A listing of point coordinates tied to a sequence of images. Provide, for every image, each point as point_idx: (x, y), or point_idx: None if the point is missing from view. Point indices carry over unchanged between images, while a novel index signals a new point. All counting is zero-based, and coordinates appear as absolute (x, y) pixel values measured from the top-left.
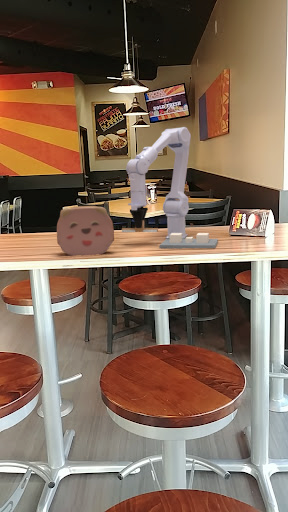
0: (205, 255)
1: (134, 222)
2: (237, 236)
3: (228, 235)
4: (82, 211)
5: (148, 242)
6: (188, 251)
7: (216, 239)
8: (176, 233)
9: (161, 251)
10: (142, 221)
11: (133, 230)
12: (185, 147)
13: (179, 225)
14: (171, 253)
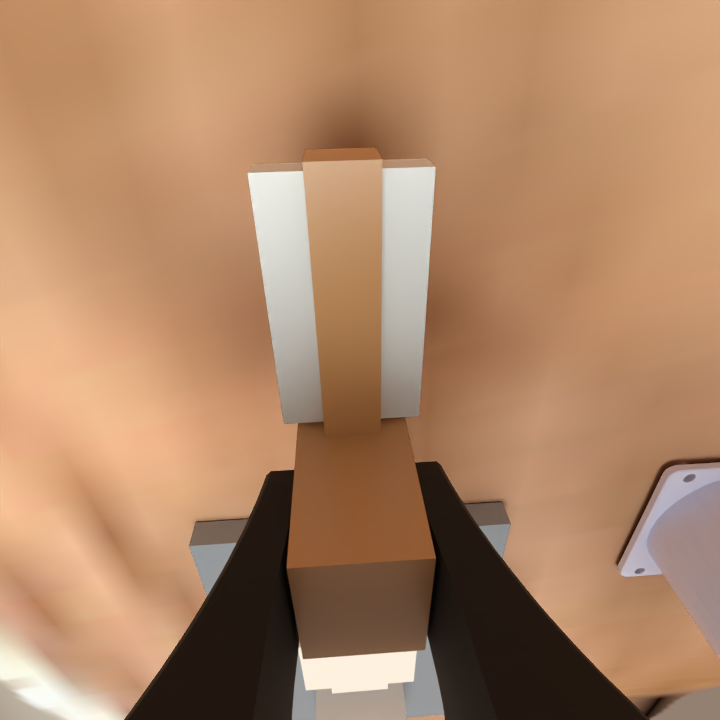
0: (72, 711)
1: (234, 551)
2: None
3: (666, 691)
4: None
5: (490, 378)
6: (146, 654)
7: (443, 712)
8: (386, 663)
9: (81, 556)
10: (302, 648)
11: (282, 399)
12: None
13: (716, 654)
14: (43, 610)
